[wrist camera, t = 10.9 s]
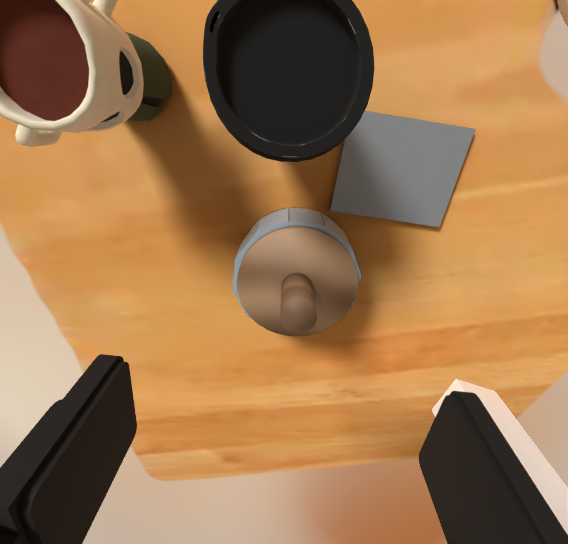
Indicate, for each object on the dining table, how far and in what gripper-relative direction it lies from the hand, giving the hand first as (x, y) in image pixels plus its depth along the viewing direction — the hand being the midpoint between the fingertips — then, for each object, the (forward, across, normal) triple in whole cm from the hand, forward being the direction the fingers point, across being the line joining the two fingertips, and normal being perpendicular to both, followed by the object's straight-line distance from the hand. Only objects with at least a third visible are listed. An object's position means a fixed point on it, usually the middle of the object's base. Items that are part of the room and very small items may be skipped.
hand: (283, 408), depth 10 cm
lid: (+20, -1, +6) cm, 21 cm away
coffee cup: (+25, +1, -9) cm, 27 cm away
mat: (+25, -10, -4) cm, 27 cm away
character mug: (+25, +14, -9) cm, 30 cm away
